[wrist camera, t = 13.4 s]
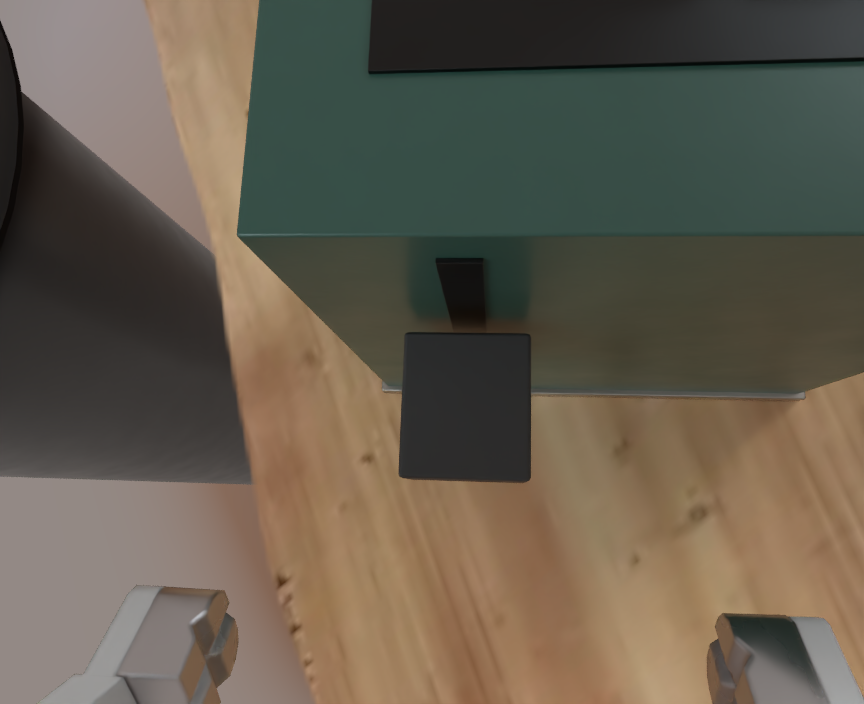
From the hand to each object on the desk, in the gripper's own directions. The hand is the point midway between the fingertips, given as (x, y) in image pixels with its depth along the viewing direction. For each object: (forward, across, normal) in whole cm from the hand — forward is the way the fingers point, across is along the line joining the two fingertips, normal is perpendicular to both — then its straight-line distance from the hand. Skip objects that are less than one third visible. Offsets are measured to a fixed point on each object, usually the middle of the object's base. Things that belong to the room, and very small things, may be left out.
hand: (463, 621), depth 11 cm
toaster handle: (+6, 0, 0) cm, 6 cm away
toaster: (+17, -4, +3) cm, 17 cm away
